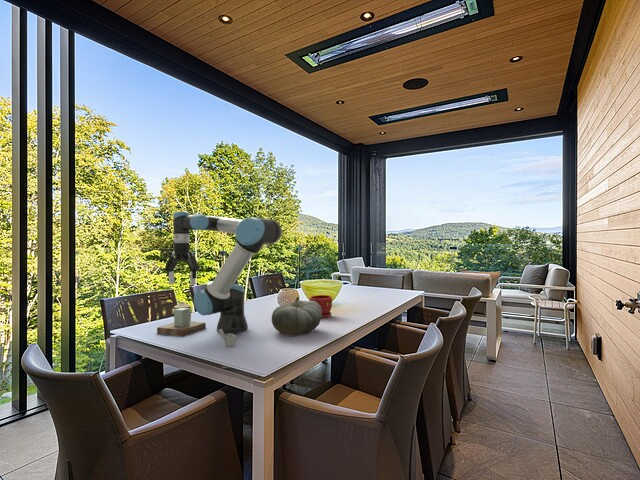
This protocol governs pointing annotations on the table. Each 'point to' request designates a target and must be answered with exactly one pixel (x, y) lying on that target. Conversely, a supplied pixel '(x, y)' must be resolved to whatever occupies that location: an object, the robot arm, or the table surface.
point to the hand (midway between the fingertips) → (182, 284)
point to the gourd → (297, 317)
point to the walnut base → (181, 329)
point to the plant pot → (323, 304)
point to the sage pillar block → (182, 317)
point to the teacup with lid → (182, 305)
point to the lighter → (228, 339)
